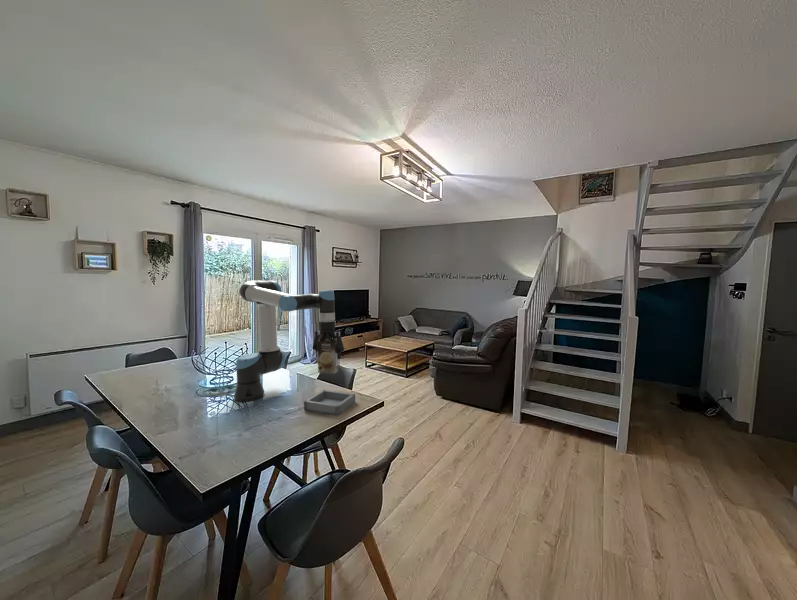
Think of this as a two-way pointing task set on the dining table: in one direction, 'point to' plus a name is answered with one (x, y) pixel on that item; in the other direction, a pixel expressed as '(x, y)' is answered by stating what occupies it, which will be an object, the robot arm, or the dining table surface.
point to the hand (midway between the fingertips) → (328, 364)
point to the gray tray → (329, 402)
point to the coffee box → (327, 357)
